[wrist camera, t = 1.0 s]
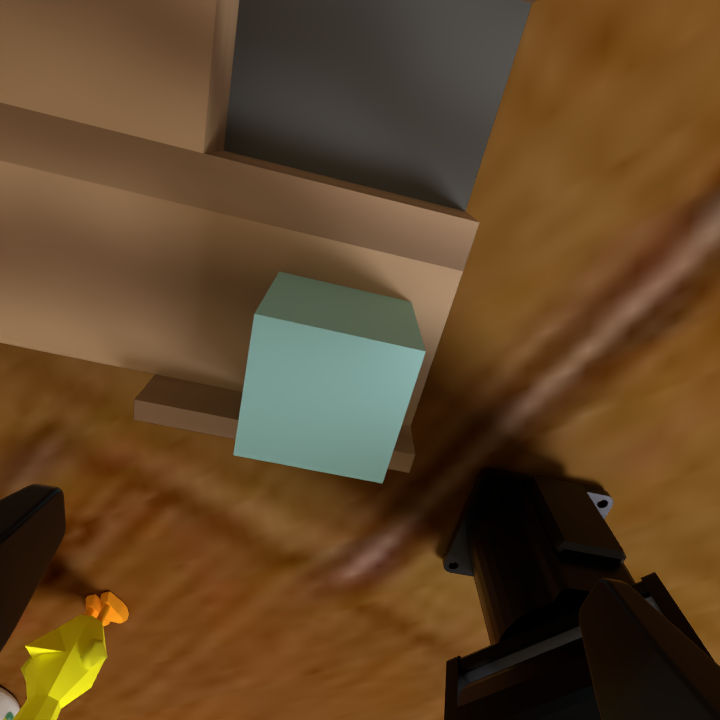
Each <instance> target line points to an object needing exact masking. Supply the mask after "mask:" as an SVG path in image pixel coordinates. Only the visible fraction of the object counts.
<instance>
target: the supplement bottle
mask: <svg viewBox="0 0 720 720" xmlns="http://www.w3.org/2000/svg"><path fill="white" fill-rule="evenodd" d="M19 710H20V708H19V704H18V702H17V700H16V699H15V698H14V697H13V696H12V695H11V694H10V693H9V692H7V691H6V690H4V689H3V688H1V687H0V720H13V718H14V717H15V716H16V714H17V713H18V711H19Z"/></svg>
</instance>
